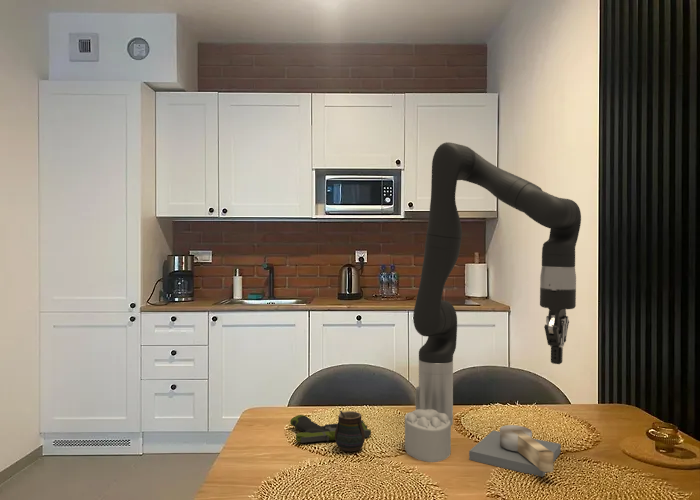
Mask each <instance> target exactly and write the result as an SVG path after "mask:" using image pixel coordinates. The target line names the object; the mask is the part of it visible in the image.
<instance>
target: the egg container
mask: <svg viewBox="0 0 700 500" xmlns="http://www.w3.org/2000/svg"><path fill="white" fill-rule="evenodd" d="M451 428H452V425H451V423H450V420H449V418H448V416H447V415H446V414H445V413H439V412H437V411H436V410H433V409H428V410H423V409H417V410H416V409H415V410H413V411H410V412H406V414H405V415H404V449H405V452H406V454H407V455H408V456H410V457H412V458H414V459H416V460H419V461H422V462H427V463H437V462H441V461H444V460H446V459H448V458H449V457H450V456H451V452H452V449H451V448H452V446H451V445H452V443H451V442H452V439H451V438H452V437H451V435H452V434H451V433H452V429H451Z"/></svg>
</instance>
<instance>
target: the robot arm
mask: <svg viewBox="0 0 700 500" xmlns="http://www.w3.org/2000/svg"><path fill="white" fill-rule="evenodd" d="M458 181H463V182H468V183H472V184H474V185H478V186H480V187H481V188H483V189H485V190H487V191H488V192H490V193H491V195H493V196H494V197H495V198H496V199H498V200H499V201H501V202H503V204H506V205H508V206H509V207H512V208H513V209H516V210H517V211H519V212H522V213H524V214H525V215H526V216H527V217H529V218H530V219H532V220H533V221H534V222H535V223H537V224H539V225H541V226H543V227H545V228H548V229H550V230H549V236H548V240H547V241H544V243H543V244H542V248H541V271H540V277H539V278H540V279H539V280H540V282H539V283H540V284H539V306H540V307H541V308H544V309H548V315H546V318H545V322H546V324H544V333H545V337H546V341H547V345H548V346H549V347H550V363H551V364H552V365H554V364H555V365H560V364H562V363H563V355H564V354H563V349H564V346H565V343H566V341H567V336H568V329H569V326H570V325H569V323H570V320H569V316H568V315H567V310H573V309H575V308H576V306H577V304H576V303H577V302H576V299H577V273H576V245H577V242H578V239H579V234H580V230H581V225H582V224H581V223H582V213H581V209H580V207H579V204H577V202H576V201H574V200H573V199H569V198H564V197H559V196H555V195H553V194H551V193H548V192H546V191H545V190H543V189H542V188H541V187H540V186H538V185H537V184H535V183H533V182H531V181H529V180H527V179H525V178H522V177H520V176H518V175H516V174H513V173H512V172H510V171H506V170H504V169H502V168H500V167H498V166H496V165H495V164H492V163H491V162H489V161H488V160H487V159H485V158H484V157H482V156H481V155H480V154H479V153H477V152H476V151H475V150H473V149H472V148H471V147H469V146H466V145H463V144H460V143H454V142H447V141H446V142H444V143H441V144H440V145H439V146H438V147H437V148H436V150H435V151H434V154H433V156H432V162H431V185H430V186H431V187H430V188H431V189H430V191H431V193H430V202H429V211H428V223H427V228H426V234H425V243H424V255H423V262H422V267H421V268H422V269H421V275H420V282H419V287H418V291H417V294H416V299H415V304H414V308H413V314H412V315H413V316H412V317H413V318H412V321H413V326H414V328H415V331H416V332H417V333H418V334H419V335H420V336H422V337H427V340H426V341H425V343H424V344H423V345H422V346H421V347H420V349H419V351H418V386H416V387H415V410H417V409H423V410H428V409H433V410H436V411H437V412H439V413H445V414H446V415H447V416H448V418H449V420H450V423H451V426H453V425H454V414H453V413H454V412H453V410H454V408H453V407H454V354H455V352H456V349H457V337H458V336H457V335H458V315H457V311H456V309H455V307H454V305H453V304H452V303H450V302H449V301H447V300H443V299H442V298H443V293H444V287H445V285H446V282H447V280H448V279H449V276H450V274H451V273H452V271H453V269H454V267H455V265H456V263H457V262H458V258H459V255H460V251H461V244H462V237H463V235H462V234H463V228H462V223H461V222H462V221H461V219H460V215H459V211H458V208H457V202H456V193H457V192H456V190H457V184H458V183H457V182H458Z"/></svg>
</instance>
